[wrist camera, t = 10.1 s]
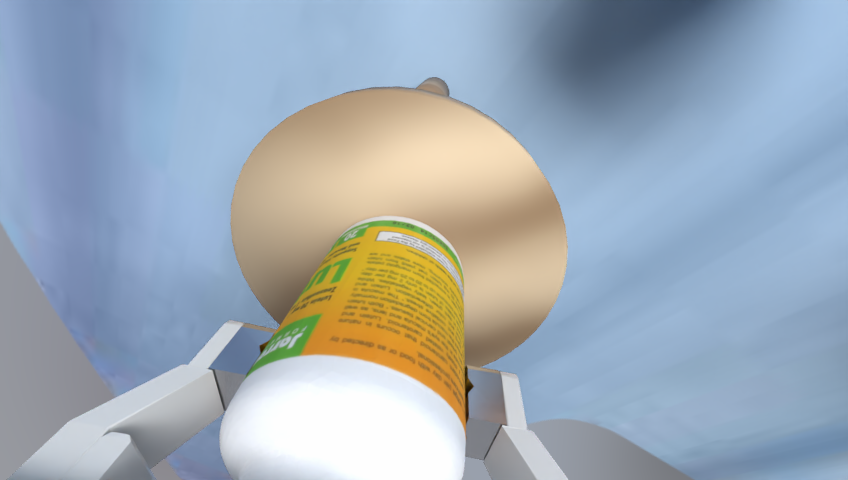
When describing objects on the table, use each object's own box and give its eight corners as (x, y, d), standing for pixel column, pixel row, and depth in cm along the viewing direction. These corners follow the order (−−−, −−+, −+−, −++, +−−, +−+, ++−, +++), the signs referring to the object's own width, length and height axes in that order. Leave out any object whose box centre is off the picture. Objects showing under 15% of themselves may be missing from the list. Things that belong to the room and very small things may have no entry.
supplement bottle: (360, 185, 12) (71, 568, 3) (491, 253, 13) (559, 699, 4) (314, 288, 15) (93, 645, 6) (424, 337, 16) (377, 711, 7)
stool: (560, 212, 22) (622, 313, 14) (402, 294, 27) (375, 406, 19) (446, 14, 17) (432, -23, 9) (279, 160, 22) (165, 229, 14)
